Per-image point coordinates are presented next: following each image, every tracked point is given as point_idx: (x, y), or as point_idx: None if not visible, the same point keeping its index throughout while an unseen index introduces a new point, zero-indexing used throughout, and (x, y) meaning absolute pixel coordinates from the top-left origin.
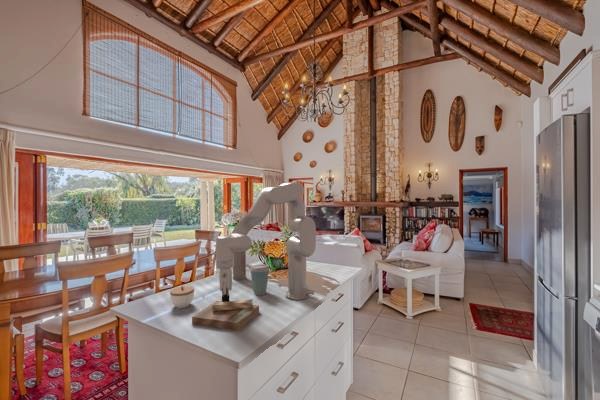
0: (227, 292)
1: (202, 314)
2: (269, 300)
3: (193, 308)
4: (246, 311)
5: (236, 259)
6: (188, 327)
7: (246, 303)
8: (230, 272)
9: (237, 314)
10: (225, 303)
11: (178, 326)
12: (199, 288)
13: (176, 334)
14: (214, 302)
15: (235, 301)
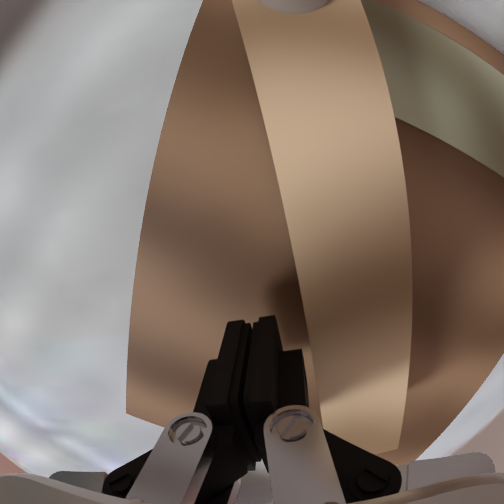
0: (365, 479)
1: (400, 438)
2: (16, 4)
3: None
4: (422, 57)
5: None
6: None
7: (366, 36)
8: None
9: (486, 157)
10: (386, 361)
11: None
12: (3, 433)
13: (475, 433)
14: (165, 425)
15: (328, 235)
